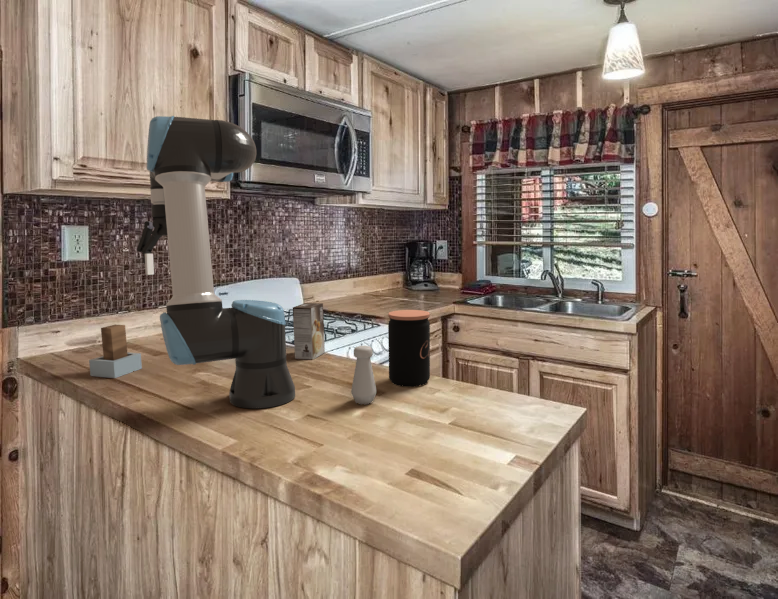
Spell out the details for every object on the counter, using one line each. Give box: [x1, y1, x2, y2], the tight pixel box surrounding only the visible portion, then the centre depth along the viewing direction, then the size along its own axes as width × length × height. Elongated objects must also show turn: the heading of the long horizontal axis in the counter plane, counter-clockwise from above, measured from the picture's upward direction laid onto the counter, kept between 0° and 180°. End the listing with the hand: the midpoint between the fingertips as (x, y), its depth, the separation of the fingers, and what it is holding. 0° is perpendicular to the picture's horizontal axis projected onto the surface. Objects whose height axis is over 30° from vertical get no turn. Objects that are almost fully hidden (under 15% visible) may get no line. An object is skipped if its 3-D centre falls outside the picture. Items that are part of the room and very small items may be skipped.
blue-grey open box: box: [88, 351, 143, 379], centre depth 149 cm, size 8×10×4 cm
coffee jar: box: [387, 309, 431, 388], centre depth 136 cm, size 11×11×18 cm
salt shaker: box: [350, 345, 377, 405], centre depth 121 cm, size 6×6×13 cm
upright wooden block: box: [100, 324, 128, 361], centre depth 148 cm, size 4×5×12 cm
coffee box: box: [292, 302, 326, 360], centre depth 164 cm, size 9×6×16 cm
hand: (168, 274), depth 162 cm, fingers open, 13 cm apart
